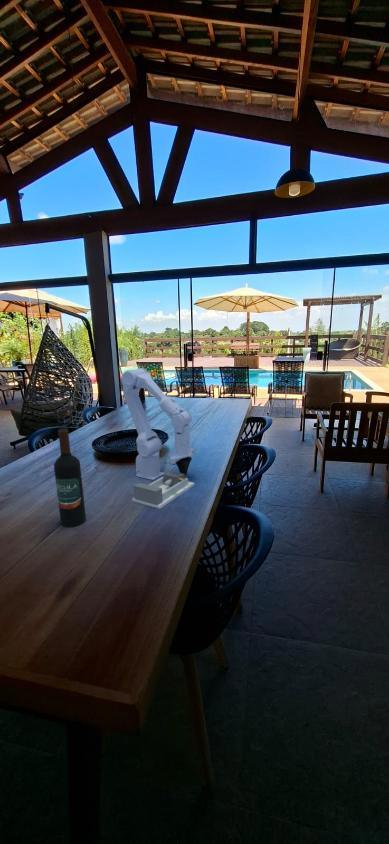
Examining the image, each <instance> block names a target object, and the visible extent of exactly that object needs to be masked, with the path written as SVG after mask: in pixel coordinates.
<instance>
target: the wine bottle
mask: <svg viewBox="0 0 389 844" xmlns="http://www.w3.org/2000/svg"><path fill="white" fill-rule="evenodd" d="M57 434H58V435H57V436H58V440H59V441H58V442H59V449H60V456H59V457H58V458H57V459H56V460H55V462H54V464H53V470H54V479H55V487H56V494H57V501H58V509H59V517H60V519H59V520H60V525H61V526H62V527H65V528H74V527H79V526H80V525H81V526H82V524H84V523H85V522H86V521H87V515H86V507H85V498H84V497H85V496H84V486H83V478H82V470H81V462H80V459H78V458H77V457H76V456H75V455H73V454H72V452H71V445H70V437H69V429H68V428H59V429H58V430H57Z"/></svg>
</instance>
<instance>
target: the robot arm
mask: <svg viewBox="0 0 389 844" xmlns="http://www.w3.org/2000/svg"><path fill="white" fill-rule="evenodd" d="M120 381H121V384H122V393H123V397H124V399H125V402H126V405H127V407H128V411H129V413H130V416H131V418H132V421H133V424H134V427H135V429H136V432H137V435H138V436H137V438H136V439H135V443H136V450H137V453H138V454H137V456H136V458H135V469H136V470H135V471H136V474H135V475H134V476H135V477H138V478H143V479H147V480H152V481H155V480H157V479H159V478H161V477H162V476H163V474H165V473H166V472H162V471H161V468H160V467H161V465H160V450H161V449H162V447H163V443H162V442H163V441H162V440H161V439H160V438H159V437H158V434H157V433H156V432H155V431H153V430H152V428H151V425H150V421H149V419H148V417H147V414H146V411H145V409H144V407H143V404H142V401H141V398H140V396H139V392H140V390H141V389H145V390H146V391H147V392H148V393H149V394H150V395H151V396H152V397H153V398H154V399H156V400H157V402H159V407H160V409H161V410H162V411H163V412H164V413H165V414H166V415H167V416H168V418H170V419H171V420H170V423H171V426H172V427H173V431H174V450H175V451H174V454H173V455H172V456H171V457H170V458H169V463H170V464H173V465H175V464H176V466H177V468H178V473H182V474H184V477H186V476H187V475H188V470H189V467H190V463H191V462H192V460H193V458H192V457H193V454H195V452H196V451H195V450H196V449H195V448H194V447H191V442H190V441H191V440H190V439H191V437H190V436H191V435H190V423H191V422H192V419H193V418H192V415H191V413H190V411H188V410H187V409H184V408H183V407H181V406H180V405H179V404H178V403H177V401H176V399H175V398H174V397H171V396H167V395H166V394H165V393H164V392H163V391H162V389H161V388H160V387H159V385H158V384H157V383H156V382H155V381H154V379H153V378H152V375H151V374H150V373H149V372H148V371H147V370H146V368H143V367H139V368H135V369H128V370H125V371H124V372H123V373H122V376H121V377H120Z"/></svg>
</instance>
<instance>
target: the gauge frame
mask: <svg viewBox="0 0 389 844" xmlns="http://www.w3.org/2000/svg"><path fill="white" fill-rule="evenodd" d="M194 486H195V482H192V481H189V479H188V478H187V477H185V481H184V480H182V481H181V482H179V483H177V484H176V485H174V486H169V485H168V486H166V485H165V484H164V481H163V476H161V477H159V478H157V479H155V480H153V482H151V483H149V484H147V483H142V482H138V483H135V484H134V485H133V497H132V499H131V500H132V502H134V503H138V504H142V505H145V506H149V507H152V508H156V509H162V508H163V507H164V506H166V505H168V504H169V503H171V502H172V501H174V500H175V499H176V498H178V497H180V496H181V495H183V494H184V493H186V492H187V491H189V490H190V489H191V488H193V487H194Z"/></svg>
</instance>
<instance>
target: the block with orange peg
mask: <svg viewBox="0 0 389 844" xmlns="http://www.w3.org/2000/svg"><path fill="white" fill-rule="evenodd" d="M164 473H165V474H163V475H162V477H163V481H164V484H165V485H166V486H168V485H169V486H174V485H176V484H177V483H179V482H181V481H182V480H184V481H185V478H186V476H184V474H182V473H180V472H177V471H171V470H168V471H166V472H164Z"/></svg>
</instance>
